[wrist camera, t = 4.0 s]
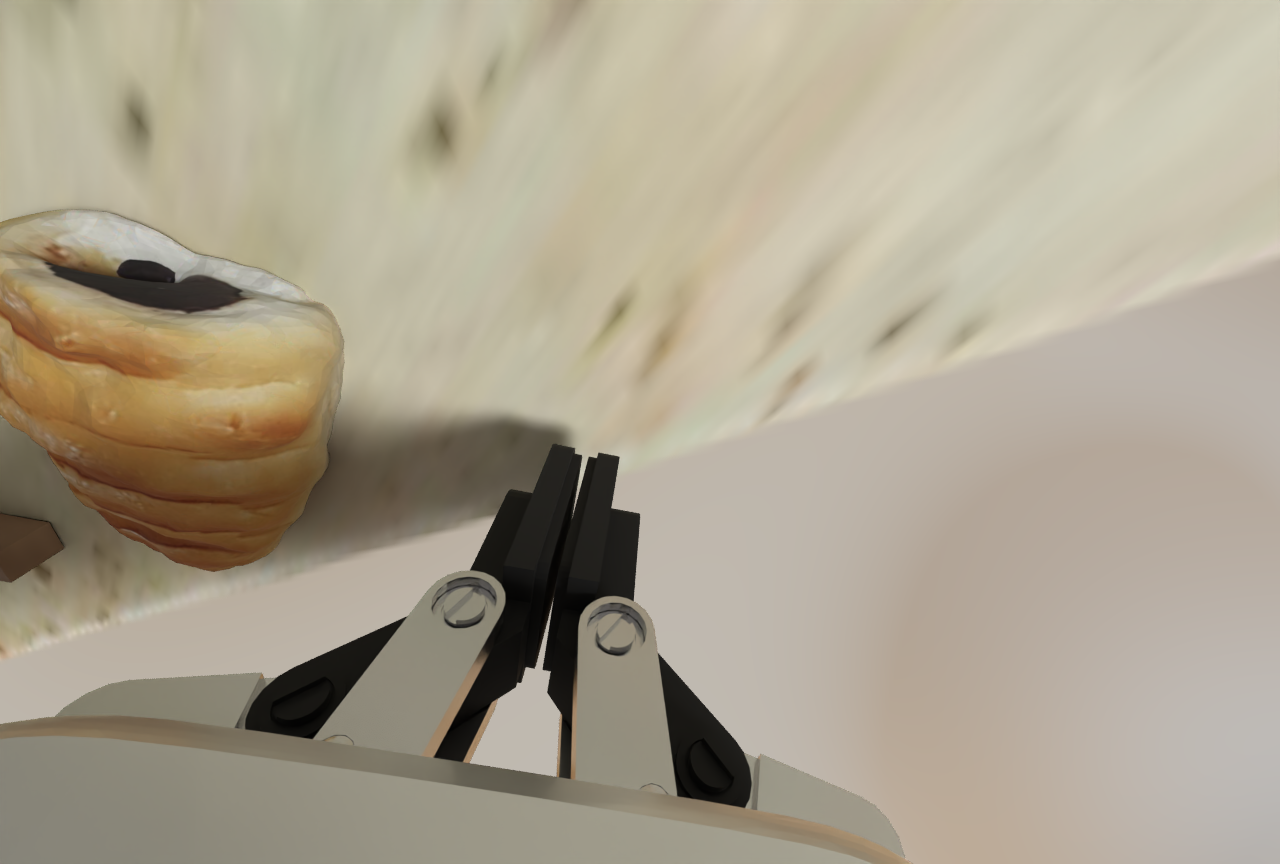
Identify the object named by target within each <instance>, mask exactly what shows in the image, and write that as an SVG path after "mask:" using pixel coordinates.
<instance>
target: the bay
mask: <svg viewBox="0 0 1280 864" xmlns="http://www.w3.org/2000/svg"><path fill="white" fill-rule="evenodd" d="M63 549H64V547H63V545H62V544H61V542H60V540H59V538H58V537H57V535H56V533H55V532H54V530H53V528H52V527H51V525H50V523H49V522H44V521H38V520H33V519H27V518H22V517H16V516H10V515H5V514H0V581H5V582H13V581H14V580H16V579H18V578H19V577H21V576H22V575H24V574H25V573H27V572H28V571H30V570H31V569H33V568H35V567H36V566H38V565H39V564H41V563H42V562H44V561H45V560H47V559H49V558H50V557H52V556H53V555H55V554H56V553H58V552H59V551H61V550H63Z"/></svg>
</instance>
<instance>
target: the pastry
mask: <svg viewBox="0 0 1280 864" xmlns="http://www.w3.org/2000/svg"><path fill="white" fill-rule="evenodd" d="M343 349H344V339H343V336H342V334H341V329H340V327H339V325H338V322H337V320H336V318H335V316H334V315H333V313H332V312H331V310H330V309H329V308H328V307H327V306H325V305H324V304H322V303H318V302H315V301H313V300H312V299H311V298H310V297H309V296H308V295H307V294H306V292H305V291H304V290H302V289H301V288H300V287H298V286H296V285H294V284H292V283H290V282H287V281H285V280H283V279H281V278H279V277H277V276H275V275H274V274H272V273H269V272H267V271H265V270H262V269H260V268H253V267H247V266H244V265H241V264H238V263H235V262H232V261H230V260H225V259H220V258H216V257H211V256H204V255H199V254H195V253H193V252H191V251H189V250H187V249H186V248H184V247H183V246H181V245H180V244H178V243H177V242H175V241H174V240H172V239H170V238H168V237H167V236H165V235H163V234H161V233H159V232H157V231H155V230H153V229H151V228H149V227H146V226H144V225H142V224H139V223H137V222H134V221H131V220H128V219H126V218H123V217H121V216H119V215H116V214H112V213H108V212H103V211H93V210H55V211H47V212H41V213H36V214H31V215H26V216H22V217H17V218H13V219H9V220H6V221H3V222H0V415H1V416H3V417H4V418H5V419H6V420H7V421H8V422H9V423H10V424H11V425H12V426H13V427H15V428H17V429H19V430H21V431H23V432H25V433H27V434H28V435H29V436H30V437H31V438H32V440H33V441H35V442H36V443H37V444H39V445H40V446H42V447H43V448H45V449H46V450H47V452H48V455H49V456H50V458H51V460H52V461H53V463H54V464H55V465H56V467H57V468H58V470H59V471H60V473H61V474H62V476H63V477H64V478H65V480H67V481H68V483H69V487H70V489H71V490H72V492H73V493H74V495H75V496H76V497H77V498H78V499H79V500H80V501H81V502H82V503H83V504H84V505H85V506H87V507H89V508H92V509H96V510H97V511H98V512H99V513H100V514H101V515H102V516H103V517H104V518H105V519H106V521H107V522H108V523H109V524H110V525H111V526H113V527H114V528H115V529H116V530H117V531H118V532H119V533H121V534H123V535H124V536H126V537H128V538H130V539H132V540H134V541H138V542H141V543H144V544H145V545H147V546H148V547H150V548H152V549H153V550H155V551H158V552H161V553H163V554H164V555H165V556H167V557H168V558H169V559H170V560H172V561H174V562H176V563H180V564H184V565H188V566H192V567H197V568H199V569H203V570H208V571H212V572H215V571H220V570H225V569H230V568H232V567H235V566H243V565H246V564H249V563H252V562H254V561H256V560H258V559H260V558H262V557H264V556H266V555H268V554H269V553H270V552H272V551H273V550H274V549H275V548H276V547H277V546H278V544H279V542H280V540H281V537H282V535H283V533H284V532H285V531H286V530H287V529H288V528H289V526H290V525H292V524H293V523H294V522H295V521H296V520H297V519H298V518H299V517H300V516H301V515H302V513H303V512H304V508H305V504H306V502H307V500H308V497H309V495H310V492H311V490H312V489H313V487H314V485H315V483H316V482H318V481H319V480H320V478H321V477H322V476H323V474H324V472H325V470H326V469H327V467H328V464H329V452H328V450H327V443H328V441H329V439H330V436H331V433H332V428H333V421H334V416H335V413H336V410H337V406H338V404H339V401H340V398H341V387H342V381H343V367H344V363H345V362H344V351H343Z"/></svg>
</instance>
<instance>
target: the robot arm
mask: <svg viewBox="0 0 1280 864" xmlns="http://www.w3.org/2000/svg"><path fill="white" fill-rule="evenodd" d="M581 461H582V455H578V454H575V448H572V447H567V446H562V445H557V444H553V445H552V447H551V450H550V452H549V455H548V457H547V460H546V462H545V465H544V467H543V470H542V472H541V474H540V477H539V479H538V482H537V484H536V487H535V489H534V492H533V493H528V492H522V491H517V490H512V489H511V490H509V491H508V493H507V495H506V497H505V499H504V501H503V503H502V505H501V507H500V509H499V511H498V513H497V516H496V518H495V520H494V522H493V524H492V526H491V528H490V530H489V532H488V534H487V536H486V539H485V540H484V543H483V545H482V547H481V549H480V551H479V553H478V555H477V557H476V559H475V561H474V563H473V565H472V567H471V569H470V571H460V572H456V573H453V574H450V575H447V576H445V577H444V578H442V579H440V580H438V581H437V582H436V583H435V584H434V585H433V586H432V587H431V588H430V589H429V590H428V591H427V592H426V593H425V595H424V596H423V597H422V599H421V600H420V601H419V602H418V604H417V605H416V606H415V608H414V609H413V610H412V612H411V613H410V614H409V615H408V616H407V617H405V618H402V619H400V620H398V621H396V622H394V623H391V624H389V625H387V626H385V627H383V628H380V629H378V630H376V631H374V632H372V633H369V634H367V635H365V636H363V637H360V638H358V639H356V640H354V641H351V642H349V643H347V644H345V645H343V646H340V647H338V648H336V649H334V650H331V651H329V652H327V653H325V654H323V655H320V656H318V657H316V658H314V659H312V660H310V661H308V662H305V663H303V664H301V665H298V666H296V667H294V668H292V669H290V670H289V671H287V672H285V673H283V674H282V675H280V676H278V677H277V678H264V677H263V674H262V673H246V674H228V675H211V676H193V677H178V678H177V677H176V678H160V679H141V680H128V681H123V682H118V683H112V684H108V685H106V686H104V687H101V688H99V689H96V690H94V691H92V692H89V693H87V694H85V695H83V696H82V697H80V698H79V699H77V700H76V701H74V702H72V703H71V704H69V705H68V706H66V707H65V708H63V709H62V710H61V711H60V712H59V713H58V714H57V715H56V716H55V717H46V718H38V719H31V720H25V721H18V722H11V723H4V724H0V864H913V863H911V862H910V861H908V860H906V859H905V855H904V852H903V849H902V846H901V842H900V839H899V836H898V835H897V833H896V831H895V830H894V828H893V826H892V825H891V823H890V821H889V820H888V819H887V817H886V816H885V815H884V814H882V812H881V811H880V810H879V809H878V808H877V807H876V806H875V805H873V804H872V803H870V802H869V801H867V800H865V799H864V798H862V797H860V796H858V795H856V794H853V793H851V792H849V791H846V790H844V789H842V788H839V787H837V786H835V785H832V784H830V783H828V782H825V781H823V780H821V779H818V778H816V777H813V776H811V775H809V774H807V773H804V772H802V771H799V770H797V769H795V768H793V767H790V766H788V765H786V764H783V763H781V762H779V761H776V760H774V759H771V758H769V757H767V756H764V755H762V754H760V756H759V757H758V758H755V757H753V756H751V755H748V754H746V753H744V752H743V751H742V749H741V748H740V747H739V745H738V743H737V742H736V741H735V740H734V738H733V737H732V736H731V735H730V734H729V733H728V731H727V730H725V728H724V727H723V726H722V725H721V724H720V722H719V721H718V720H717V719H716V718H715V717H714V716H713V714H712V713H711V712H710V711H709V710H708V709H707V708H706V707H705V705H704V704H703V703H702V702H701V701H700V700H699V699H698V698H697V696H696V695H695V694H694V693H693V692H692V691H691V690H690V689H689V688H688V686H687V685H686V684H685V683H684V682H683V681H682V680H681V678H680V677H679V676H678V675H677V674H676V673H675V672H674V671H673V669H672V668H671V667H670V666H669V665H668V664H667V663H666V661H665V660H664V659H663V658H662V657H661V656H660V655H659V654H658V651H657V643H656V636H655V629H654V626H653V623H652V619H651V618H650V617H649V615H648V613H647V612H646V610H645V609H643V608H642V607H641V606H640V605H638V604H637V603H636V602H634V588H635V575H636V562H637V550H638V538H639V525H640V514H639V513H633V512H628V511H623V510H617V509H612V508H611V506H612V500H613V494H614V488H615V482H616V476H617V470H618V464H619V457H618V456H613V455H608V454H603V453H598V457H597V458H593V457H589V458H588V462H587V465H586V469H585V473H584V477H583V480H582V484H581V488H580V492H579V495H578V499H577V503H576V507H575V511H574V514H573V510H574V503H575V498H576V492H577V486H578V480H579V473H580V467H581ZM572 516H573V518H572ZM553 598H554V600H553ZM552 602H553V606H552ZM551 606H552V613H551V620H550V626H549V632H548V638H547V645H546V651H545V658H544V664H543V670H547V671H551V673H550V679H549V685H548V691H547V693H548V694H549V696H550V697H551V699H552V700H553V702H554V703H555V705H556V706H557V708H558V709H559V711H560V712H561V714H560V719H559V736H558V756H557V776H556V777H553V776H547V775H541V774H534V773H528V772H521V771H515V770H509V769H502V768H496V767H490V766H483V765H477V764H470V761H471V759H472V756H473V754H474V752H475V750H476V748H477V746H478V744H479V742H480V740H481V738H482V735H483V733H484V731H485V729H486V727H487V725H488V723H489V720H490V718H491V716H492V714H493V712H494V710H495V707H496V704H497V700H498V698H500V697H501V696H503V695H504V694H506V693H507V692H509V691H511V690H512V689H514V688H515V687H516V685H517V682H518V683H521V682H522V678H523V675H524V671H525V668H526V667H529V668H535V666H536V663H537V659H538V655H539V652H540V648H541V644H542V640H543V636H544V632H545V629H546V625H547V621H548V617H549V613H550V610H551Z"/></svg>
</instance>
